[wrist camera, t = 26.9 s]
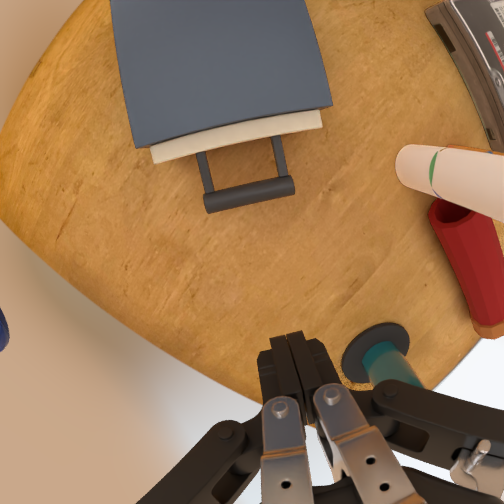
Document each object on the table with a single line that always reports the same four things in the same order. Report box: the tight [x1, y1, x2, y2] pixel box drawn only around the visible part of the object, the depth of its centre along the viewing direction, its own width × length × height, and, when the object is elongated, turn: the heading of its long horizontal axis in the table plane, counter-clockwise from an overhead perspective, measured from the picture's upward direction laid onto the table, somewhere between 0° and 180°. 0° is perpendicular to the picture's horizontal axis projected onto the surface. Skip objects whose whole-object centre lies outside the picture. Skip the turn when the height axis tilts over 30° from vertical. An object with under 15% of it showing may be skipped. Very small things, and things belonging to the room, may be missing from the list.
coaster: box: [342, 323, 410, 383], centre depth 31 cm, size 9×9×1 cm
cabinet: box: [110, 0, 333, 149], centre depth 16 cm, size 15×12×8 cm
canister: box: [362, 341, 428, 390], centre depth 25 cm, size 5×5×13 cm
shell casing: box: [428, 198, 504, 339], centre depth 25 cm, size 7×20×7 cm, turn 43°
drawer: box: [150, 109, 323, 214], centre depth 17 cm, size 18×10×6 cm, turn 12°
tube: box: [395, 144, 504, 223], centre depth 17 cm, size 4×4×15 cm
